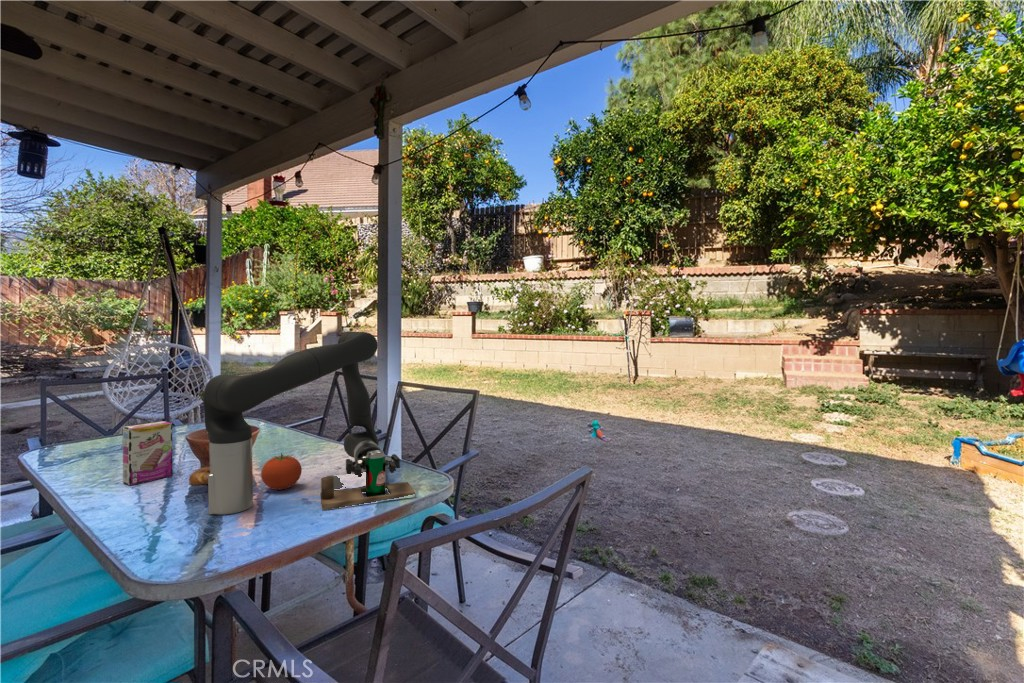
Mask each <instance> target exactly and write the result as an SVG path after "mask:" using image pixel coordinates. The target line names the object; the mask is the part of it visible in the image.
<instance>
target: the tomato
mask: <svg viewBox="0 0 1024 683" xmlns="http://www.w3.org/2000/svg"><path fill="white" fill-rule="evenodd" d="M293 456H294V455H293V454H290V455H289V454H288V455H283V453H282V452H281V455H280V456H274V457H272V458H270V459H269V460H267V461H266V462H265V463H264V465H263V466H262V468H261V473H260V475H261V480H262V482H263V484H264V485H265V486H267V487H268V488H270V489H273V490H277V491H279V490H285V489H289V488H290V487H291V488H292V486H294V485H295V484H296V483H298V481H299V480H300V478H301V476H302V472H303V471H302V470H303V468H302V465H301V463H300V461H299V460H298V459H297V458H295V457H293Z"/></svg>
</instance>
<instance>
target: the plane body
mask: <svg viewBox="0 0 1024 683" xmlns="http://www.w3.org/2000/svg"><path fill="white" fill-rule="evenodd" d="M320 485H321V486H320V491H321V492H320V496H319V497H320V504H321V510H324V511H328V510H327V509H331V510H333V509H332V508H338V509H340V508H339V507H345V506H352V505H359V504H364V503H371V502H376V501H381V500H387V499H394V498H399V497H404V496H408V495H413V494H415V495H416V491H415V490H414V489H413V487H412V486H411V484H410V483H409V481H403V482H395V483H387V484H386V483H385V488H387V489H388V492H389V493H390V494H388V492H387V494H385V495H379V496H371V497H366V496H365V497H364V494H362V492H366V487H360V488H352V489H344V490H336V491H334V477H327V476H324V477H321V479H320Z"/></svg>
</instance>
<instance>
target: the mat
mask: <svg viewBox="0 0 1024 683" xmlns="http://www.w3.org/2000/svg"><path fill="white" fill-rule="evenodd" d="M334 475H335V474H333V475H326V477H334V489H340V488H342V487H343V486H342V485H344V484H343V483H341V482H340V478H338V477H337V476H334ZM345 488H346V487H345Z"/></svg>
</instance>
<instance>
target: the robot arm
mask: <svg viewBox="0 0 1024 683" xmlns="http://www.w3.org/2000/svg"><path fill="white" fill-rule="evenodd" d="M378 343H379V342H378V340H377V338H376V336H374V334H371V333H370V332H367V331H346V332H344V333H342V334H341V335H340V336H339V338H338V341H337V343H334V344H329V345H328V344H327V345H320V346H319V345H318V346H314V347H308V348H304V349H302V350H299V351H296V352H293V353H291V354H289V355H286V356H284V357H283V358H281V360H279V361H277V362H276V363H275V364H274V365H273V366H271V367H270V368H267V369H264V370H261V371H258V372H255V373H250V374H245V375H235V374H218V375H215V376H214V377H212V378H211V379H210V380H209V381H208V382H207V383H206V385H205V387H204V390H203V414H204V427H205V430H206V432H207V434H208V438H209V439H208V440H209V442H208V443H209V445H208V446H209V449H208V450H209V453H208V454H209V467H210V474H209V475H208V487H207V488H208V489H207V490H208V515H231V514H232V515H233V514H237V513H241V512H243V511H246V510H248V509H251V508H252V507H253V505H254V490H253V489H254V483H253V482H254V481H253V474H254V473H253V472H254V471H253V431H252V426H251V424H249V423H248V422H247V420H245V418H244V416H243V415H244V414H243V413H245V412H247V411H250V410H251V409H254V408H255V407H257V406H259V405H261V404H263V403H264V402H266V401H267V400H270V399H271V398H273V397H276V396H277V395H280V394H283V393H285V392H288V391H292V390H293V389H296V388H299V387H301V386H304V385H306V384H309V383H311V382H314V381H316V380H318V379H321V378H323V377H325V376H327V375H329V374H331V373H334V372H336V371H338V370H340V369H341V372H342V373H341V374H342V376H343V380H344V386H345V390H346V391H345V392H346V398H347V416H348V417H347V418H348V423H349V425H350V426H353V427H360V428H364V429H365V431H360V432H352V433H349V434H347V435H346V437H345V438H344V440H343V448H344V451H345V453H346V454H347V456H349V457H351V458H353V459H354V460H352V459H350V458H345V471H346V474H351V473H354V474H355V475H358V477H361V476H362V474H361V473H363V472H366V455H367V452H369V451H375V450H380V451H382V450H381V448H380V447H379V438H378V435H377V433H376V431H375V428H374V424H373V420H372V418H373V417H372V408H371V407H372V404H371V398H370V397H371V396H370V394H369V392H368V390H367V386H366V385H365V383H364V381H363V379H362V377H361V374H360V369H359V368H360V367H359V363H361V362H365V361H368V360H370V359H372V358H373V357H374V356H375V355H376V353H377V350H378V346H379V344H378ZM400 460H401V459H400V457H398V455H397V454H395V453H393V454H391V456H390V457H388V456H386V455H385V471H386V470H388V471H389V472H390V474H394V473H395V472H396V470H397V469H400V468H401V466H400V464H401V463H400V462H401V461H400Z"/></svg>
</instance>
